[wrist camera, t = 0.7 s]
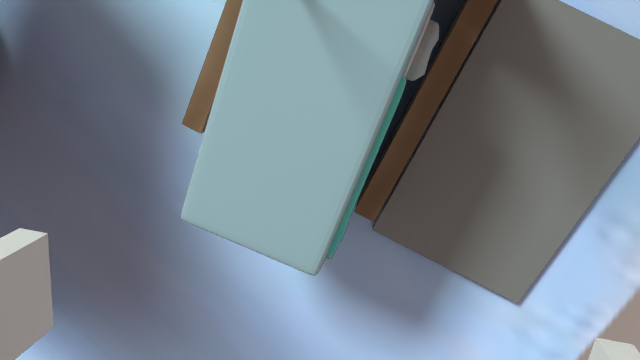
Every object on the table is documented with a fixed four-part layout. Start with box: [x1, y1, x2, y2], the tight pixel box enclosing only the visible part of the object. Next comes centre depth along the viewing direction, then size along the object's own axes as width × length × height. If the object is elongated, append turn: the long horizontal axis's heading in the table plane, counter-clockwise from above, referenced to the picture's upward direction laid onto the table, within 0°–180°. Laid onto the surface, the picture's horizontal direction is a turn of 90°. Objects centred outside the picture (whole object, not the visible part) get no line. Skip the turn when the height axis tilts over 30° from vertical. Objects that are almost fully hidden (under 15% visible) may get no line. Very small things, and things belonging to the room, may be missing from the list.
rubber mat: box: [373, 0, 640, 303], centre depth 31 cm, size 12×19×1 cm, turn 154°
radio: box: [181, 0, 439, 275], centre depth 23 cm, size 16×9×20 cm, turn 159°
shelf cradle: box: [182, 0, 498, 222], centre depth 25 cm, size 15×18×14 cm
